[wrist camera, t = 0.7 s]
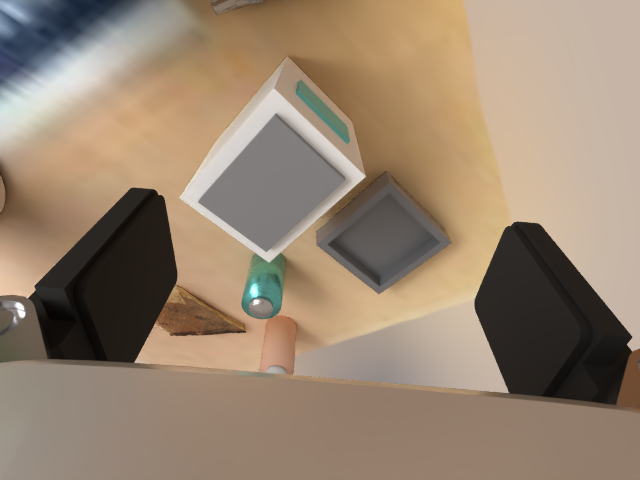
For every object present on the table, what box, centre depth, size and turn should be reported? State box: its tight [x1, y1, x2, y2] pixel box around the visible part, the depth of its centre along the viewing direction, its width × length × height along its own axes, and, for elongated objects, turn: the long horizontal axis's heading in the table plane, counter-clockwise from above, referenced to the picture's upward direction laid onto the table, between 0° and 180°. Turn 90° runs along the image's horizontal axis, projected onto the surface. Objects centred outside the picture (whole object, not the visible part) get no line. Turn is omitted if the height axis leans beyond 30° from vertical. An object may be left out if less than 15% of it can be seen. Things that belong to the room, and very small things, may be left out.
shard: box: [155, 285, 246, 336], centre depth 49 cm, size 11×8×2 cm
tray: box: [317, 172, 451, 294], centre depth 41 cm, size 10×10×2 cm
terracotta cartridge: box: [259, 316, 296, 375], centre depth 47 cm, size 4×4×8 cm
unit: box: [180, 56, 366, 262], centre depth 30 cm, size 11×8×13 cm
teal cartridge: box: [242, 253, 286, 319], centre depth 41 cm, size 4×4×8 cm
